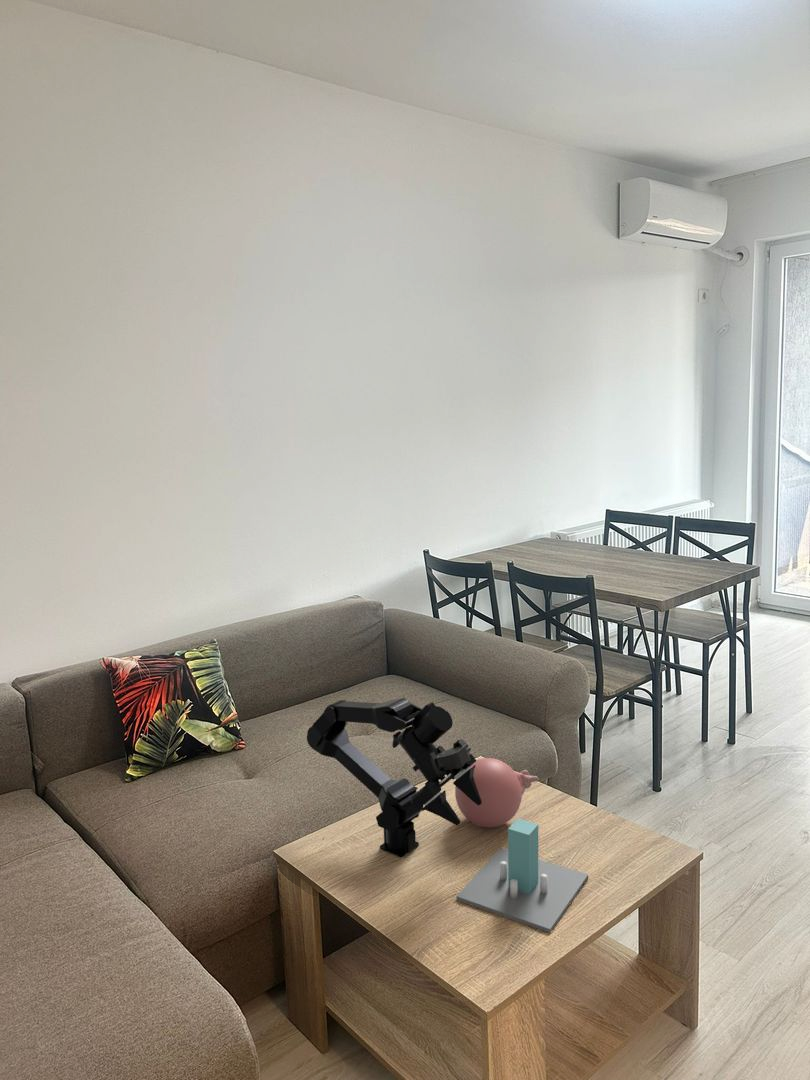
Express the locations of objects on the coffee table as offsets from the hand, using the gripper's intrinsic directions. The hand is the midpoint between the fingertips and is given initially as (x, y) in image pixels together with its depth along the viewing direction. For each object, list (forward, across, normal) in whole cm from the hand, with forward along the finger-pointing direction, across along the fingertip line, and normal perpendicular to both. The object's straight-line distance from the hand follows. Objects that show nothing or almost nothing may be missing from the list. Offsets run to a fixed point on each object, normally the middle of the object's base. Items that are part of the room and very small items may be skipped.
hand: (470, 813), depth 171 cm
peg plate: (+18, +1, +1) cm, 18 cm away
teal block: (+17, +1, +1) cm, 17 cm away
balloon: (+7, +21, +13) cm, 26 cm away
